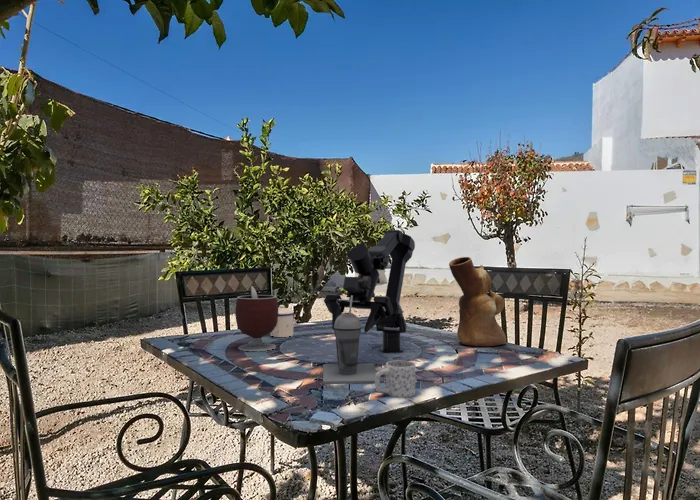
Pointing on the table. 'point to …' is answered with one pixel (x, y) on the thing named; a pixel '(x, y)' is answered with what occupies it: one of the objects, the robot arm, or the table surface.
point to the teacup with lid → (283, 323)
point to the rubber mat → (363, 375)
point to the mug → (397, 379)
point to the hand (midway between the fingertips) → (349, 330)
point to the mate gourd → (256, 319)
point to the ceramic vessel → (477, 305)
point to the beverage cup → (347, 341)
